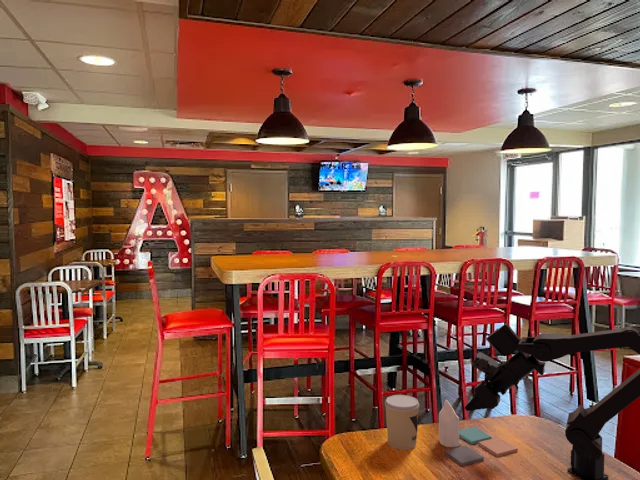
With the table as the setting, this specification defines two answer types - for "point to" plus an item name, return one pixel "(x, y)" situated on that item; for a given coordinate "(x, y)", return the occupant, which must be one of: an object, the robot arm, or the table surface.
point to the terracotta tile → (498, 446)
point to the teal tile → (473, 435)
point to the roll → (448, 426)
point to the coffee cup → (402, 421)
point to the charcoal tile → (464, 455)
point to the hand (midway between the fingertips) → (469, 403)
